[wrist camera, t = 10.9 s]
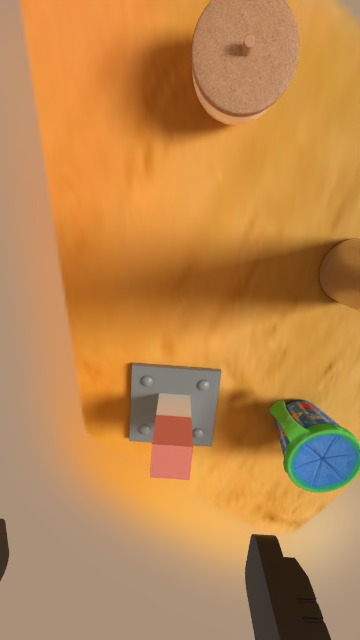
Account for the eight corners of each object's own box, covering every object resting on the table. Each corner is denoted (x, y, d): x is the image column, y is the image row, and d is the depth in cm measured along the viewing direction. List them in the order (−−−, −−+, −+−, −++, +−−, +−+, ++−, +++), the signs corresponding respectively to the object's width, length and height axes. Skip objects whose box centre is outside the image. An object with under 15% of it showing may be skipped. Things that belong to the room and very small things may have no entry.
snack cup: (348, 431, 50) (388, 479, 41) (296, 463, 52) (322, 516, 43) (298, 367, 47) (328, 402, 37) (244, 404, 49) (260, 446, 39)
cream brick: (190, 395, 47) (191, 417, 42) (187, 421, 49) (188, 447, 43) (159, 393, 47) (156, 415, 41) (157, 419, 49) (154, 444, 43)
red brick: (191, 417, 42) (193, 447, 36) (188, 446, 43) (189, 479, 37) (156, 414, 41) (152, 444, 36) (154, 444, 43) (149, 477, 37)
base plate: (220, 369, 47) (221, 372, 46) (210, 442, 51) (211, 447, 50) (132, 362, 47) (131, 366, 46) (130, 436, 51) (128, 442, 50)
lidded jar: (209, 152, 38) (217, 127, 29) (175, 62, 36) (173, 3, 27) (287, 113, 37) (321, 75, 28) (258, 16, 34) (286, -60, 25)
